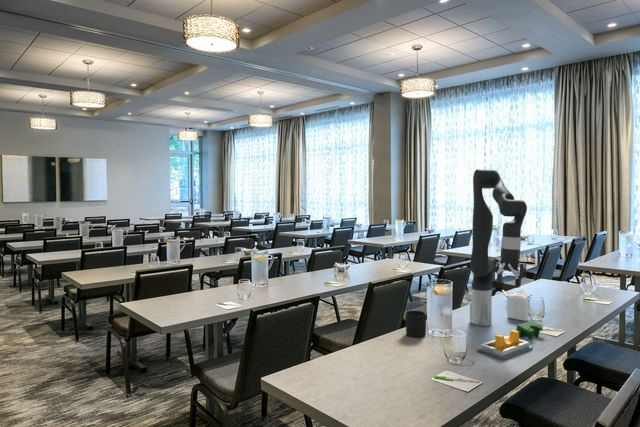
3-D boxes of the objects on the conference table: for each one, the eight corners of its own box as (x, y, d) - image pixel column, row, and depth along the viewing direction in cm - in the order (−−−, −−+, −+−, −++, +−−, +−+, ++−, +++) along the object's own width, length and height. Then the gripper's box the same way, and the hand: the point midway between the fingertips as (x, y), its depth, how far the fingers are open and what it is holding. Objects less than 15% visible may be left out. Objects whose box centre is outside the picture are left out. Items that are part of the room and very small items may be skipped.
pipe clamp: (509, 343, 191) (509, 328, 191) (518, 346, 188) (518, 331, 187) (491, 349, 185) (491, 334, 184) (500, 352, 181) (500, 336, 181)
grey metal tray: (477, 351, 186) (477, 344, 186) (506, 341, 197) (506, 334, 197) (503, 360, 176) (503, 352, 176) (532, 349, 187) (532, 342, 187)
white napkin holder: (505, 317, 233) (506, 293, 233) (510, 316, 236) (510, 292, 235) (525, 322, 225) (525, 297, 225) (529, 320, 228) (530, 295, 227)
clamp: (527, 349, 200) (527, 333, 196) (515, 342, 205) (514, 326, 201) (544, 334, 205) (544, 319, 201) (532, 328, 210) (531, 313, 206)
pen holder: (430, 334, 209) (430, 312, 208) (419, 339, 202) (419, 317, 201) (412, 330, 215) (412, 309, 215) (401, 335, 208) (401, 313, 208)
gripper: (490, 245, 196) (488, 282, 197) (520, 250, 184) (517, 290, 185) (501, 244, 200) (499, 280, 201) (531, 249, 188) (529, 288, 189)
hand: (508, 285), depth 193 cm, fingers open, 8 cm apart
